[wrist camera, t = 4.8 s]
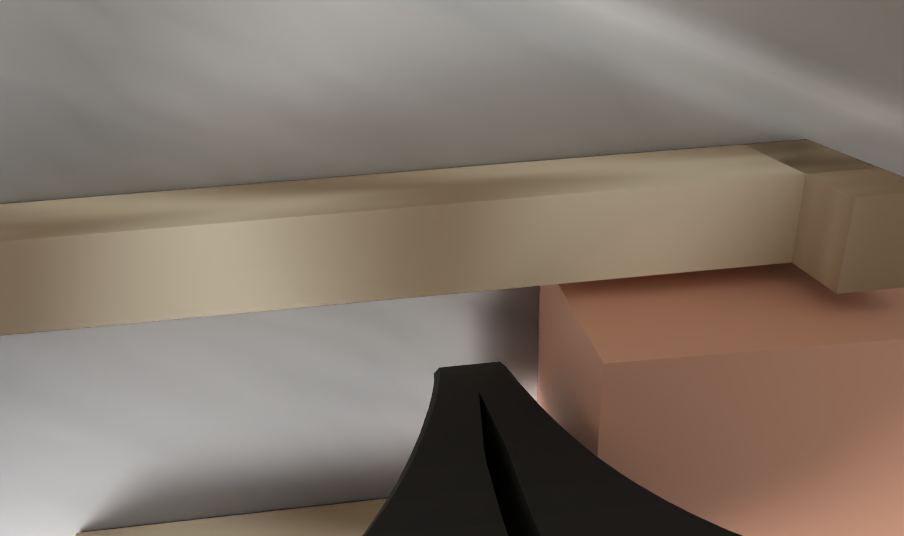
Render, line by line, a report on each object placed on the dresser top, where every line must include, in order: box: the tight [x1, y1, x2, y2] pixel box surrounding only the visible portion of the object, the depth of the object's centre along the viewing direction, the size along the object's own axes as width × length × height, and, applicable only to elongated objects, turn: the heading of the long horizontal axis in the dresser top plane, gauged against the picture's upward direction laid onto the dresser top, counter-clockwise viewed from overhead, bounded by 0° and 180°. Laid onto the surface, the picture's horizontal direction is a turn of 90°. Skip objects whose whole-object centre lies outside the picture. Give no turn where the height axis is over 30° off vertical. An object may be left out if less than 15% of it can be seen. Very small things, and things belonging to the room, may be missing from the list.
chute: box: [0, 139, 904, 536], centre depth 12 cm, size 15×9×3 cm, turn 93°
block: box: [537, 262, 904, 536], centre depth 12 cm, size 6×5×4 cm
